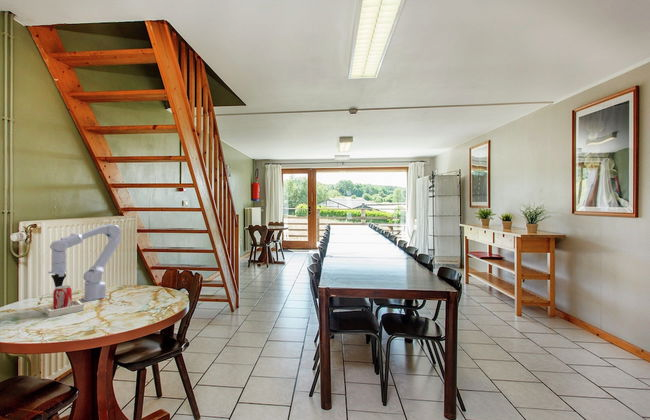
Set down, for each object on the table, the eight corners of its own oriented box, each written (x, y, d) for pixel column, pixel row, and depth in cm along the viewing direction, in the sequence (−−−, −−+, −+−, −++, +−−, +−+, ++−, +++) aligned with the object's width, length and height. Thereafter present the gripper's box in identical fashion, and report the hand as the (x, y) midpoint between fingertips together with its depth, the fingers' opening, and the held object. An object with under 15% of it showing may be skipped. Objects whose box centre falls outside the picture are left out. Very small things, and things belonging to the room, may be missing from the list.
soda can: (74, 309, 152) (74, 286, 152) (57, 313, 146) (57, 289, 146) (67, 307, 155) (67, 284, 155) (50, 311, 149) (50, 287, 149)
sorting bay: (77, 305, 158) (77, 299, 158) (83, 310, 151) (83, 304, 151) (44, 311, 148) (44, 305, 148) (49, 317, 141) (49, 311, 141)
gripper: (45, 262, 159) (45, 287, 159) (51, 265, 150) (51, 292, 150) (63, 260, 165) (62, 284, 165) (69, 263, 156) (69, 289, 156)
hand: (58, 287), depth 158 cm, fingers closed
